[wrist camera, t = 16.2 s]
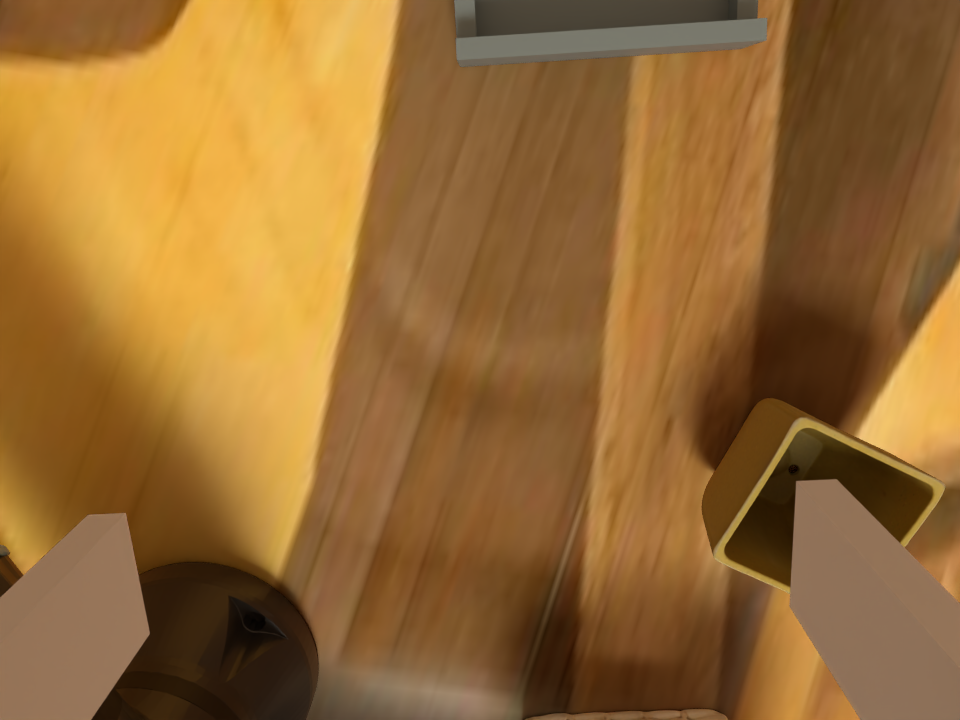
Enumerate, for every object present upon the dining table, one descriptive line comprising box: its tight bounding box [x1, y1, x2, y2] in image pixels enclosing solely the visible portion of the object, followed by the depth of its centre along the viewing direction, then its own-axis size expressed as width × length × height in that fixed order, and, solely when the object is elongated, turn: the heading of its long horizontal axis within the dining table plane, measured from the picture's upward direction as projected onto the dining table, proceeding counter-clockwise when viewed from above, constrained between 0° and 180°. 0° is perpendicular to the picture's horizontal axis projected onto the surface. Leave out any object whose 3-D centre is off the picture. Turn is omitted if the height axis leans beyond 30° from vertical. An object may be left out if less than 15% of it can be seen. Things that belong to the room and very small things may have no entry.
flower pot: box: [702, 398, 945, 594], centre depth 45 cm, size 9×9×9 cm
